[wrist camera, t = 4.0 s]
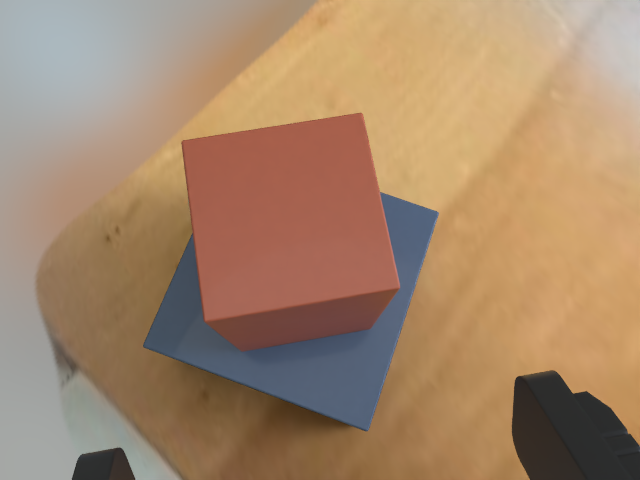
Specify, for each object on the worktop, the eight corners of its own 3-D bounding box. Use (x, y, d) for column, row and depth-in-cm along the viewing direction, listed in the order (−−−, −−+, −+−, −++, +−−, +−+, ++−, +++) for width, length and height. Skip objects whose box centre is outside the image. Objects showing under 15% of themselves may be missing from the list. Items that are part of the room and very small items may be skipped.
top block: (371, 329, 23) (400, 288, 15) (241, 352, 22) (203, 322, 15) (346, 206, 24) (362, 111, 16) (223, 226, 24) (180, 140, 16)
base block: (356, 427, 27) (368, 432, 22) (176, 359, 28) (141, 346, 22) (415, 249, 30) (439, 211, 24) (247, 191, 31) (232, 140, 25)
